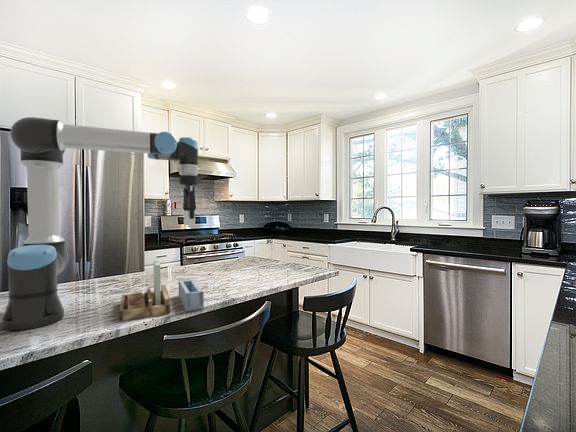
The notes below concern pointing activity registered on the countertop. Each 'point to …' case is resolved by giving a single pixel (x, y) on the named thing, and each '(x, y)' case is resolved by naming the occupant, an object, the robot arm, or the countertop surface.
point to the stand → (191, 295)
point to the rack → (146, 310)
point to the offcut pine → (137, 292)
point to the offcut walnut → (136, 299)
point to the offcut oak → (136, 305)
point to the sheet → (157, 283)
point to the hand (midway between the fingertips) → (189, 226)
